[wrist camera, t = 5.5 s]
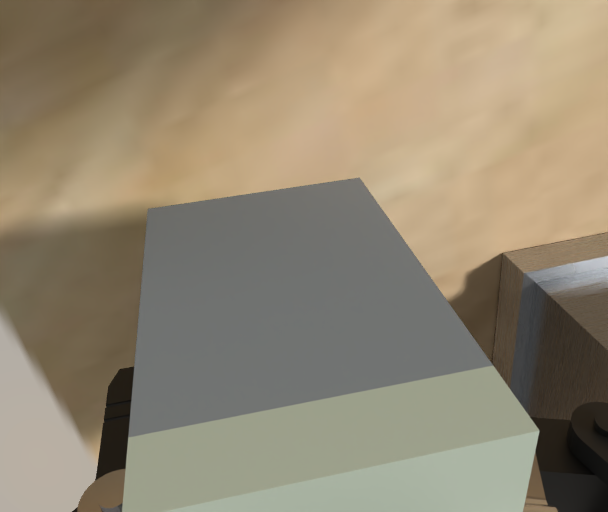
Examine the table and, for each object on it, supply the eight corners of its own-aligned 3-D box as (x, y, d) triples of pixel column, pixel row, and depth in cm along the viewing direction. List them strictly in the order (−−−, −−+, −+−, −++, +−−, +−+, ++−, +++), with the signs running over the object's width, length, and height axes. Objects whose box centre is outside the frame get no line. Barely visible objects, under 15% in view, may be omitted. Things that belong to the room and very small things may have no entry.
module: (147, 209, 13) (120, 520, 6) (359, 177, 14) (539, 431, 7) (199, 423, 17) (216, 766, 10) (364, 390, 17) (485, 692, 11)
